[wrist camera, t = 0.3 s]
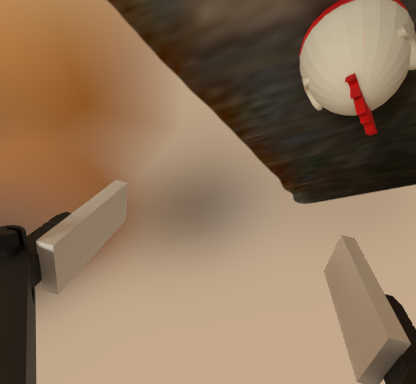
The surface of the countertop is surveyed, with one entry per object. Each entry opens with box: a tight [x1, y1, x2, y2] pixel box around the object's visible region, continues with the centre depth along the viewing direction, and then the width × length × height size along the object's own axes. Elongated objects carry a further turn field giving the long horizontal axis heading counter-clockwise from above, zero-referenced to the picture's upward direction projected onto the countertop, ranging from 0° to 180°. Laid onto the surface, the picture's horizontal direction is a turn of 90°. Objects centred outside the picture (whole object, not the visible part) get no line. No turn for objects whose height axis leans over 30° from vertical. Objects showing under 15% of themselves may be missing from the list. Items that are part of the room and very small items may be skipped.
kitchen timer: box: [300, 0, 416, 136], centre depth 34 cm, size 14×14×15 cm
